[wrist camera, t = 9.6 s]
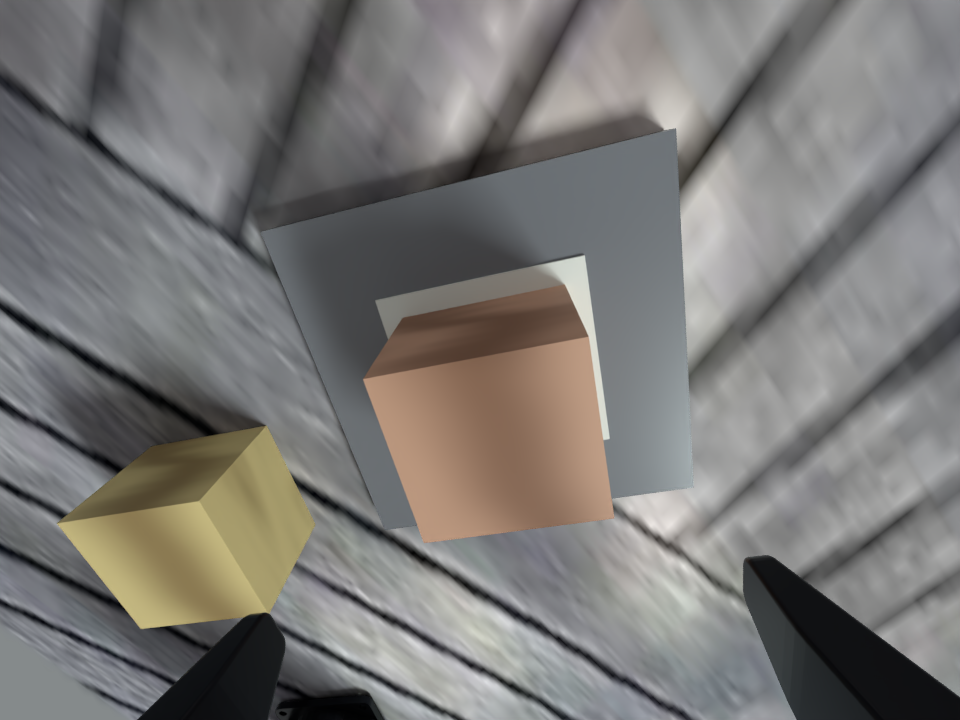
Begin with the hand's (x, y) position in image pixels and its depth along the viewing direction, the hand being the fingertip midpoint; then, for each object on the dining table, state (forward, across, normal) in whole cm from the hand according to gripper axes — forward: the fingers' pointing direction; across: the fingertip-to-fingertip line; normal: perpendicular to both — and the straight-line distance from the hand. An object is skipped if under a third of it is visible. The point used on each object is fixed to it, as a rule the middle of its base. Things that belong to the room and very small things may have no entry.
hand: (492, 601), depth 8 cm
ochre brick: (+11, +14, +4) cm, 18 cm away
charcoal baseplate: (+11, 0, 0) cm, 11 cm away
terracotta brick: (+10, 0, 0) cm, 10 cm away
